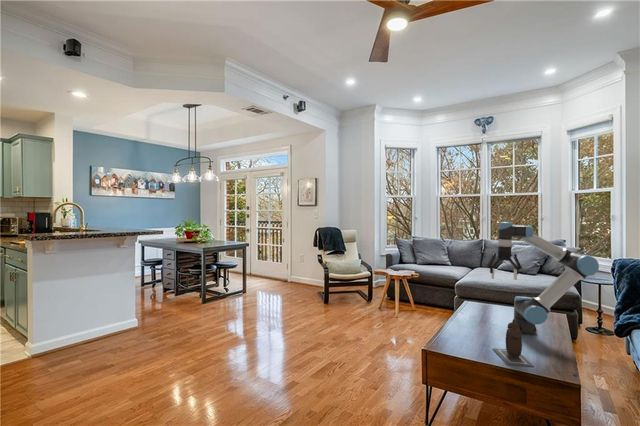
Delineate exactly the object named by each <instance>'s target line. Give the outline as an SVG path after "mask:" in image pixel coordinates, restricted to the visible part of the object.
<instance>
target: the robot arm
mask: <svg viewBox="0 0 640 426" xmlns="http://www.w3.org/2000/svg"><path fill="white" fill-rule="evenodd" d="M512 238H516V239H518V240H521V241H522V242H524V243H526V244H528V245H530V246H531V247H533V248H535V249H537V250H539V251H541V252H542V253H544V254H546V255H548V256H550V257H551V258H554V260H555V261H556V262H558V263H560V264H561V265H563V266H564V271H562V273H561V274H560V275H559V276H558V277H557V278H556V279H554V281H553V282H551V284H549V285H548V286H547V287H546V288H545V289H544V290H542V292H541V293H540V294H539V295H538V296H537V297H530V296H519V295H518V296H517V295H516V296H515V297H514V301H513V302H514V303H513V319H515V320H516V323H517V324H518V325H519V328H520V331H521V335H526V336H536V335H537V334H538V329H537V326H536V325H542V324H544V323H545V322H547V319H548V314H549V313H550V312H551V307H553V305H554V304H555V303H556V302H558V301H559V300H560V298H562V297H563V296H564V295H565V294H566V293H567V292H568V291H569V290H570V289H572V287H573V286H575V285H576V284H577V283H578V282H579V281H582V280H583V281H584V280H585V279H586V278H588V276H593V275H595V274H597V273H598V272H599V269H600V265H599V264H600V263H599V261H598V260H597V259H596V257H594V256H591V255H589V254H583V253H579V252H574V251H571V250H569V249H567V248H564V247H563V248H561V247H559V246H557V245H556V244H554V243H552V242H550V241H548V240H546V239H544V238H543V237H540V236H539V235H537V234H535V233H534V227H533V226H531V225H520V224H513V222H511V221H500V222H499V223H498V241H497V243H498V247H497V253H495V252H493V253H492V256H491V257H490V260H489V261H488V263H487V265H486V267H488V268H489V273H490V276H491V279H492V280H494V279H495V267H496V266H497V265H498V264H499V263H500V262H501V261H503V262H504V261H507V262H509V263H510V264H511V265H512V266H513V280H515V281H517V279H518V275H519V270H522V268H523V267H522V265H521V263H520V260H519V259H518V255H517V253H512V243H513V241H512ZM512 258H513V260H514V261H513V260H512Z"/></svg>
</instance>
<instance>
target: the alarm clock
mask: <svg viewBox="0 0 640 426" xmlns="http://www.w3.org/2000/svg"><path fill="white" fill-rule="evenodd" d="M506 328H507V329H506V333H505V349H506V350H507V353H508V354H509V356H510V359H511V355H513V356H518V359H519V356H520V355H522V350H523V338H522V337H523V336H522V335H523V334H521V331H520V328H519V325H518V324H517V323H516V320H515V319H514V318H513V319H512V322H509V323H508V324H507V327H506Z"/></svg>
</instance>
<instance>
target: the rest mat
mask: <svg viewBox="0 0 640 426" xmlns="http://www.w3.org/2000/svg"><path fill="white" fill-rule="evenodd" d="M492 351H493V352H494V353H495V354H496V355H498V357H499V358H500V359H501V360H502V361H503V363H505V365H507V366H514V367H528V368H534V367H535V366H534V364H532V362H530V360H528V359H527V358H526V357H525V356H524V355H523V354H521V355H520V356H519V359H518V356H513V355H511V359H510V356H509V354H508V353H507V350H506V348H492Z"/></svg>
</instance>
